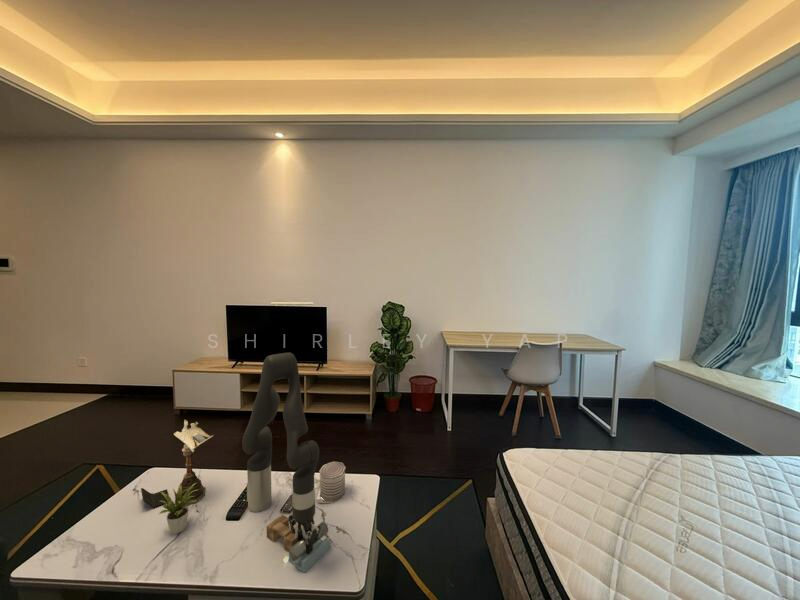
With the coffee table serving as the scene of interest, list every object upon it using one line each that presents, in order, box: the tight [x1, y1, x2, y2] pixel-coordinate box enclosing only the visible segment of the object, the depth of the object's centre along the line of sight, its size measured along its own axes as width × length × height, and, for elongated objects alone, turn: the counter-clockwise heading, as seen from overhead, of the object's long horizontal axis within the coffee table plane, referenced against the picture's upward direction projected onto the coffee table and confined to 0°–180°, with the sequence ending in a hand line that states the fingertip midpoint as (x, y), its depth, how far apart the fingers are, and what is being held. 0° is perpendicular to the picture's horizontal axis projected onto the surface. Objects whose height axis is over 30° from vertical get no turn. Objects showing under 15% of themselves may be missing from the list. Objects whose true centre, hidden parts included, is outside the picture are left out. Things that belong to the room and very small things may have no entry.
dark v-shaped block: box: [140, 487, 170, 510], centre depth 141 cm, size 12×7×10 cm
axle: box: [288, 521, 329, 561], centre depth 114 cm, size 14×4×4 cm, turn 147°
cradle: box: [288, 536, 332, 573], centre depth 114 cm, size 8×12×4 cm, turn 147°
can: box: [318, 461, 347, 503], centre depth 146 cm, size 11×11×12 cm
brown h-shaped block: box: [265, 514, 303, 553], centre depth 121 cm, size 14×7×6 cm, turn 57°
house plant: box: [158, 482, 197, 535], centre depth 125 cm, size 14×14×16 cm
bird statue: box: [173, 419, 215, 507], centre depth 143 cm, size 17×13×35 cm
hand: (304, 549), depth 112 cm, fingers closed on axle, 4 cm apart
